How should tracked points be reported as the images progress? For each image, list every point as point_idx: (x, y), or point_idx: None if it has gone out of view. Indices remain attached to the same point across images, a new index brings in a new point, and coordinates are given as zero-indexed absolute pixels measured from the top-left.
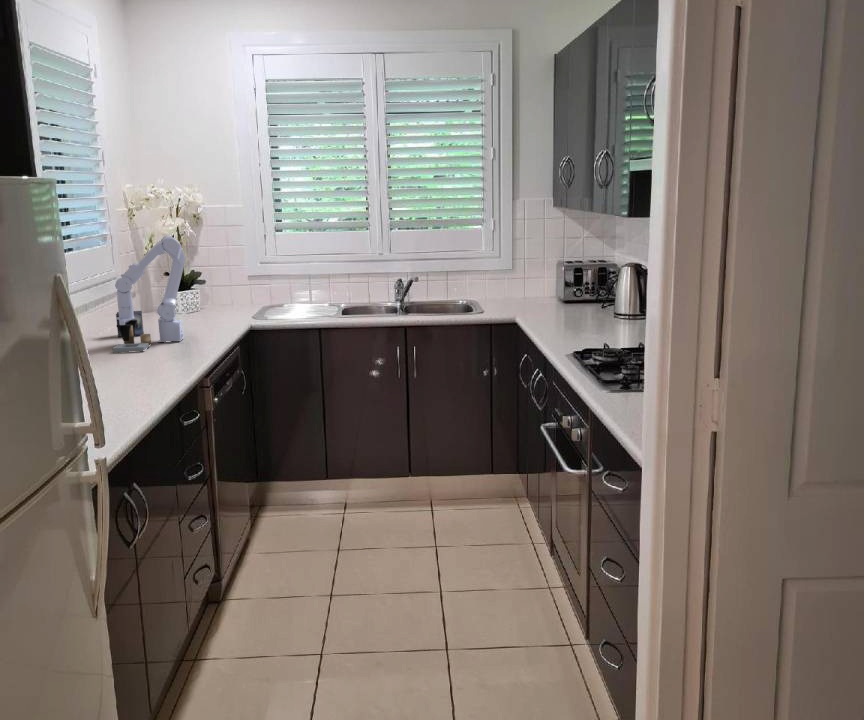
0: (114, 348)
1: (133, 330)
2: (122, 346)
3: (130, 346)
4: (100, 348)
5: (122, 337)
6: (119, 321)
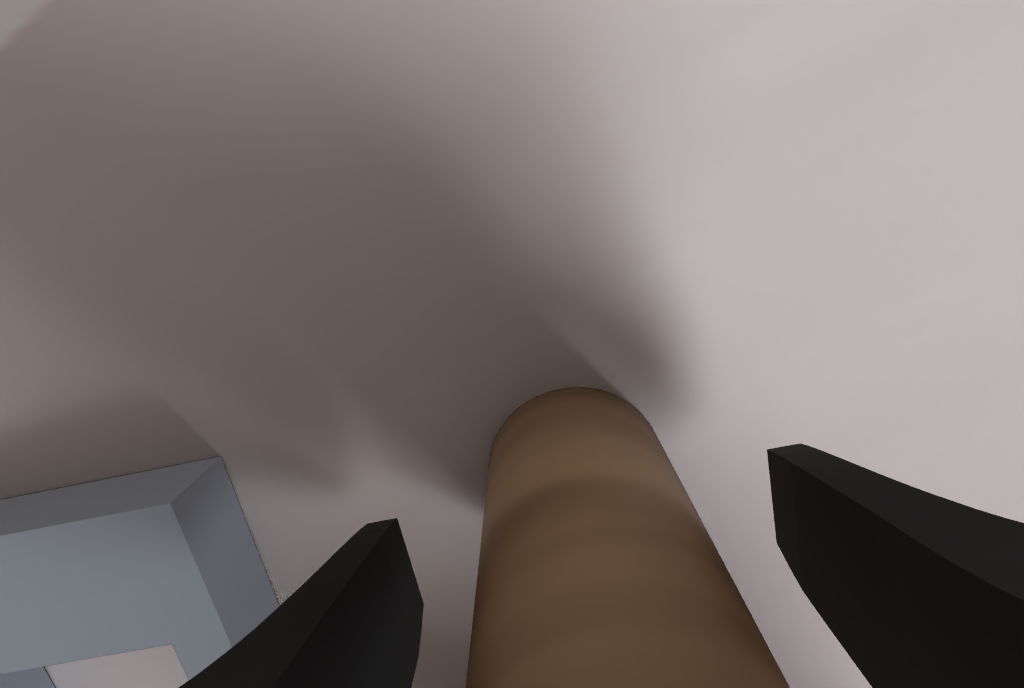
0: None
1: (878, 679)
2: (2, 663)
3: None
4: (201, 55)
5: (322, 572)
6: None
